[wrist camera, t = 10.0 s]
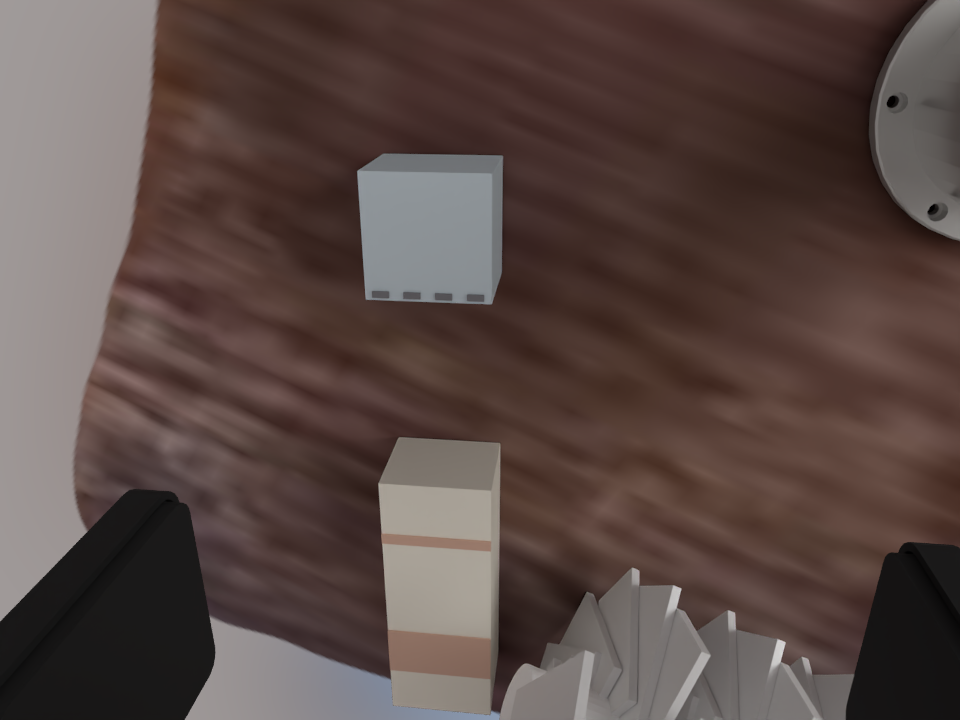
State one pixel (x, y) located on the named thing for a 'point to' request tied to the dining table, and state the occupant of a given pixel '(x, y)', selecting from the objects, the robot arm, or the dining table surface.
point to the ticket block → (442, 572)
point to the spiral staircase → (667, 668)
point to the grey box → (432, 227)
